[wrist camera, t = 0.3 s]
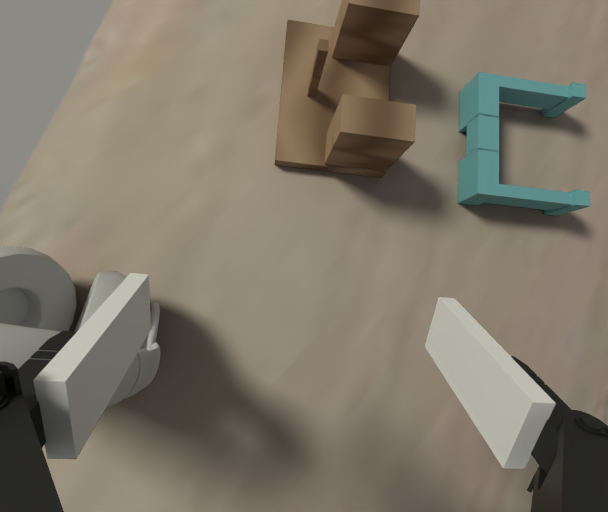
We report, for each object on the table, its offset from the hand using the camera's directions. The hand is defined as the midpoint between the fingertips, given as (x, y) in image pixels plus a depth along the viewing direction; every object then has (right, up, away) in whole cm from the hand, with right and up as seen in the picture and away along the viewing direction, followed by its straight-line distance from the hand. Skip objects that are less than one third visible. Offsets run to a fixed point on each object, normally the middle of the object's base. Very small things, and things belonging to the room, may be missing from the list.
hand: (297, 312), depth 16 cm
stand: (+3, +19, +21) cm, 28 cm away
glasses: (+23, +14, +23) cm, 35 cm away
